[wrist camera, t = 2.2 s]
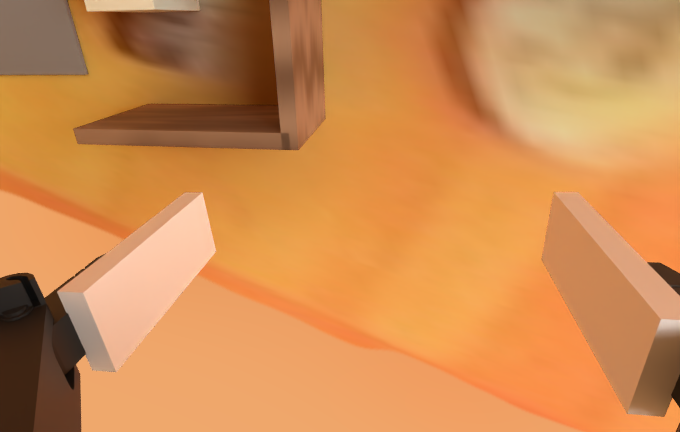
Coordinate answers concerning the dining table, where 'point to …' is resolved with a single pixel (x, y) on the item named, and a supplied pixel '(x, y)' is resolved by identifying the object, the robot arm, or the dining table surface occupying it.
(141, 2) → the beige block
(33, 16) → the grey mat
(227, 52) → the dining table surface
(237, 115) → the open box
